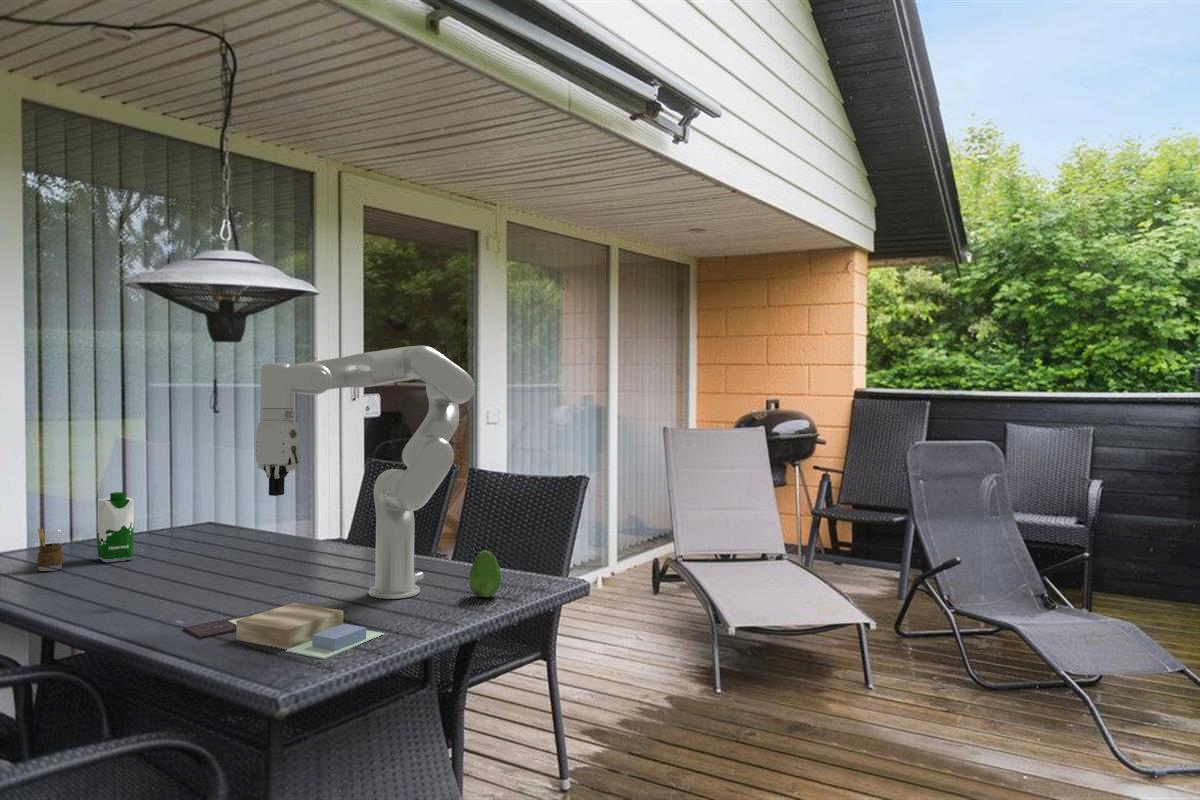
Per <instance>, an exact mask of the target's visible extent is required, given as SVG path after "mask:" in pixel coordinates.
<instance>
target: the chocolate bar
mask: <svg viewBox="0 0 1200 800" xmlns="http://www.w3.org/2000/svg"><path fill="white" fill-rule="evenodd" d="M259 613H260V612H257V613H252V614H247V615H240V616H236V617H231V618H226V619H220V620H215V621H210V622H209V621H208V622H203V623H200V624H194V625H187V626H183V627H182V628H183V631H184V630H185V632H186V631H187V632H186V633H188V632H189V634H190V635H192V636H193V637H195V636H196V637H195V638H197V637H198V638H197V639H199V638H200V639H199V640H203V639H202V638H204V639H208V637H209V638H213V637H212V636H214V637H218V636H217V635H219V636H223V635H222V634H224V635H228V634H227V633H229V634H232V633H233V634H234V633H236V624H237V620H239V619H243V618H246V617H249V616H253V615H256V614H259Z"/></svg>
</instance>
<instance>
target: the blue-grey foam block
mask: <svg viewBox="0 0 1200 800" xmlns="http://www.w3.org/2000/svg"><path fill="white" fill-rule="evenodd" d="M366 630H367V627H365V626H359V625H354V624H349V623H348V624H347V623H343V624H341V625H339V626H336V627H333V628H330V629H327V630H324V631H321V632H319V633H316V634H313V635H312V647H317V648H322V649H327V650H332V651H337V650H339V649H342V648H344V647H347V646H350V645H352V644H355V643H357V642H360V641H363V640H365V639H366Z"/></svg>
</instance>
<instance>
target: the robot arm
mask: <svg viewBox="0 0 1200 800" xmlns="http://www.w3.org/2000/svg"><path fill="white" fill-rule="evenodd" d="M259 378H260V381H259V382H260V383H259V384H260V386H259V387H260V391H259V392H260V395H259V397H260V399H259V421H258V423H257V424H258V425H257V430H256V436H255V447H254V448H255V449H254V450H255V453H254V454H255V457H254V458H255V461H256V463H257V468H258V469H260V470H263V471H264V472H265V474H266V478H267V479H268V495H269V496H272V497H277V496H284V495H285V478H287V477H288V474H289V472H294V471H297V465H299V464H300V463H301V460H302V459H301V457H302V453H301V451H302V450H301V448H302V447H301V438H300V430H299V424H298V422H295V418H296V417H297V412H296V394H299V395H308V396H317V395H321V394H324V393H326V392H327V391H328V390H335V389H343V388H358V389H359V388H368V387H369V388H370V387H377V386H381V385H387V384H393V383H400V382H403V381H404V382H406V381H412V380H422V381H423V382H424V383H426V385H425V391H426V395H427V399H428V412H427V414H426V416H425V418H424V420H423V421H422V422H421V423H420V425H419V427H418V428H417V430H416V431H415V432H414V434H413V435H412V436H411V437H410V439H409V441H407V443H406V445H405V446H404V448H403V449H402V453H401V458H402V463H404V465H405V466H406V467H407V468H406V469H405V470H404V469H399V468H391V469H386V470H384V471H383V472H381V473H380V474H379V475H378V476H377V478H376V480H375V482H374V487H373V500H374V506H375V526H376V527H375V565H374V566H375V570H374V571H375V574H374V575H375V578H374V579H375V580H374V586H371V587H370V588H369V589H368V595H369V596H370V597H372V598H375V597H376V598H377V599H382V598H383V599H385V600H396V599H407V598H411V597H414V596H417V595H418V594H419V593H420V590H421V589H420V586H418V585H417V584H416V582H417V581H420V580H422V579H424V573H423V572H422V571H419V572H415V532H416V531H415V530H416V529H415V528H416V527H415V513H414V512H416V511H418V510H420V509H421V508H423V507H424V506H425V505H426V504H427V503H428V502H429V501H430V499H431V498H432V497H433V495H434V493H436V490H438V488H439V486H440V485H441V483H442V482H443V481H444V480H445V478H446V477H447V476H448V473H449V472H450V470H451V468H452V466H453V462H454V458H455V456H454V449H453V447H452V445H451V444H450V441H451V439H452V438H453V436H454V434H455V432H456V430H457V429H458V426H459V423H460V408H459V407H460V406H459V405H462V404H465V403H467V402H469V401H470V399H472V398H473V396H474V393H475V382H474V380H473V378H472V377H471V376H470V374H469V373H468V372H467V371H466V370H464V369H463V368H461V367H460V366H459V365H457V364H456V363H454V362H453V361H452V360H450V359H449V358H447V357H446V356H445V355H444V354H442V353H441V352H439V351H437V350H436V349H435V348H433V347H430V346H427V345H412V346H411V345H409V346H403V347H397V348H387V349H382V350H376V351H367V352H363V353H362V352H361V353H356V354H352V355H347V356H343V357H342V356H341V357H336V358H329V359H322V360H317V361H310V362H303V363H302V362H301V363H297V364H291V363H284V362H267V363H264V364H262V366H261V367H260V377H259ZM383 599H382V600H383Z"/></svg>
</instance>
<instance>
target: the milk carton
mask: <svg viewBox="0 0 1200 800" xmlns="http://www.w3.org/2000/svg"><path fill="white" fill-rule="evenodd" d="M109 495H110V496H109V497H108V498H98V499H97V529H96V530H97V537H96V538H97V541H96V543H97V557H98V556H99V557H101V558H103V559H114V558H123V557H132V558H133V556H134V555H133V553H134V532H135V531H134V529H135V527H134V519H135V517H134V514H135V513H134V512H135V499H132V498H131V497H127V492H124V491H120V492H119V491H116V492H111V493H109Z"/></svg>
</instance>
